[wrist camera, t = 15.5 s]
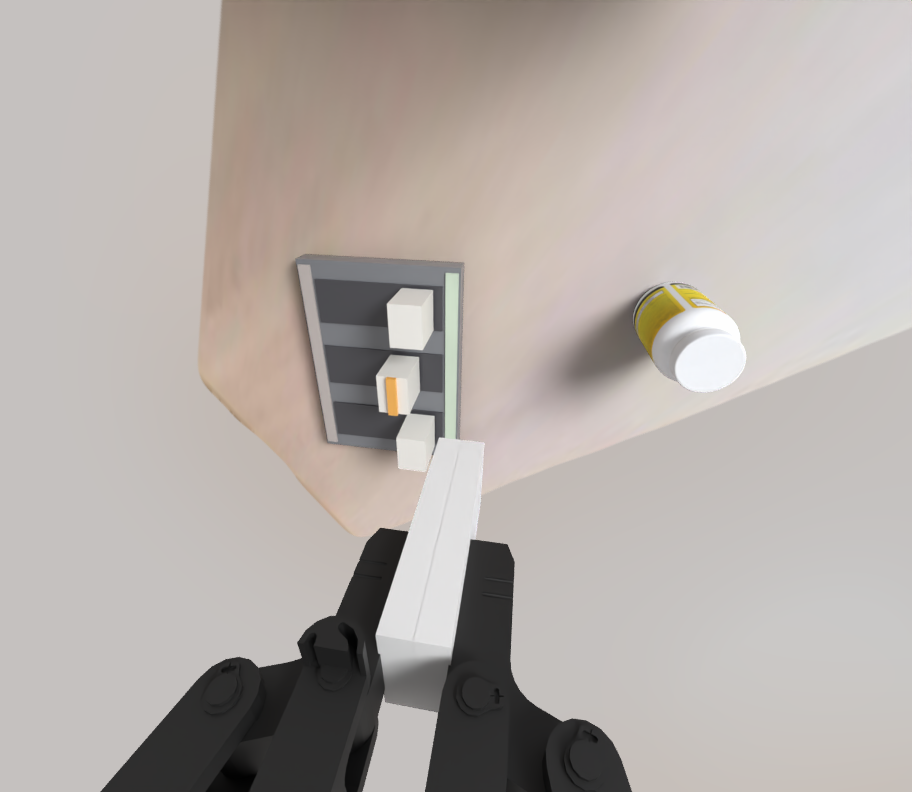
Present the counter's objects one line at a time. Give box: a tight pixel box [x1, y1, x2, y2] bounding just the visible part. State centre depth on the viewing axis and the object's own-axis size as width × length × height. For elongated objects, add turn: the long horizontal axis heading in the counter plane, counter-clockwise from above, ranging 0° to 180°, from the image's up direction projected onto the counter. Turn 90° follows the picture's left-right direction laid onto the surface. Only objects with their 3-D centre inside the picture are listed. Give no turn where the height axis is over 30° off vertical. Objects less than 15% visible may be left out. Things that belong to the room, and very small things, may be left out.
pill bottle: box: [633, 282, 746, 393], centre depth 34 cm, size 6×6×11 cm
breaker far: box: [396, 413, 435, 472], centre depth 45 cm, size 4×3×5 cm
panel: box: [296, 254, 464, 455], centre depth 45 cm, size 22×16×2 cm
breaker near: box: [387, 288, 434, 350], centre depth 38 cm, size 4×3×5 cm
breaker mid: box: [376, 355, 420, 416], centre depth 42 cm, size 4×3×5 cm
